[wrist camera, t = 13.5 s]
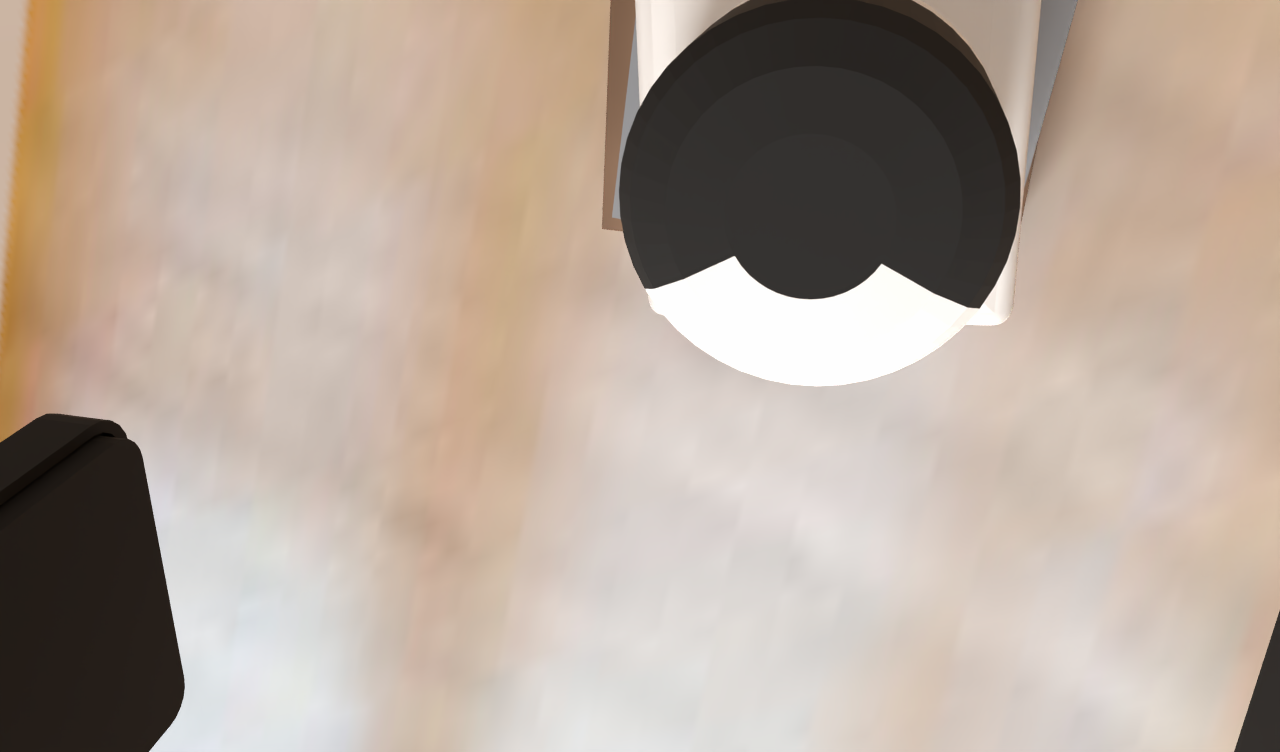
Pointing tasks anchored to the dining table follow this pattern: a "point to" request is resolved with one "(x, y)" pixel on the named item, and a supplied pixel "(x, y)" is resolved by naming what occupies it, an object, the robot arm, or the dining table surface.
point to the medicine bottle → (828, 176)
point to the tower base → (616, 98)
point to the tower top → (1050, 46)
